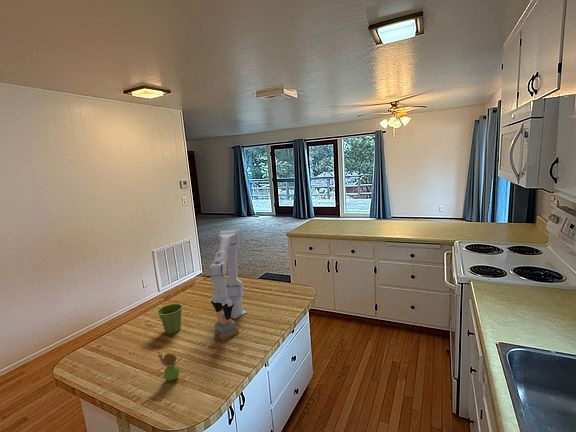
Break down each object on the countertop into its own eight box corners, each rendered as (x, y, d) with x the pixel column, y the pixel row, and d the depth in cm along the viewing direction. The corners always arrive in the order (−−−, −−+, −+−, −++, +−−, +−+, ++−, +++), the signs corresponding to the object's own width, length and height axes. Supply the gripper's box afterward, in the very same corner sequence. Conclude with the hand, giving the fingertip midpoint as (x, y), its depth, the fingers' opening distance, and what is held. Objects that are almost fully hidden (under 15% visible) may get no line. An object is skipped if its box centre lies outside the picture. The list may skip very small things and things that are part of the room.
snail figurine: (164, 375, 116) (159, 346, 114) (181, 373, 116) (177, 344, 114) (160, 385, 111) (154, 355, 109) (178, 383, 111) (173, 353, 109)
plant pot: (190, 328, 150) (187, 307, 148) (167, 339, 141) (163, 317, 139) (178, 321, 158) (175, 301, 156) (156, 331, 149) (152, 310, 148)
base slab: (215, 335, 142) (214, 329, 142) (229, 327, 148) (228, 322, 147) (224, 341, 137) (223, 334, 136) (239, 333, 142) (238, 327, 141)
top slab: (215, 328, 142) (214, 322, 142) (228, 322, 147) (227, 317, 146) (222, 334, 137) (221, 327, 136) (236, 327, 141) (235, 321, 141)
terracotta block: (218, 322, 142) (216, 312, 141) (226, 318, 145) (225, 308, 144) (223, 325, 138) (221, 315, 138) (231, 321, 141) (230, 311, 141)
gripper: (204, 288, 141) (208, 315, 144) (221, 295, 131) (225, 325, 133) (217, 283, 146) (221, 309, 148) (234, 290, 136) (238, 318, 138)
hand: (224, 316), depth 141 cm, fingers open, 7 cm apart
